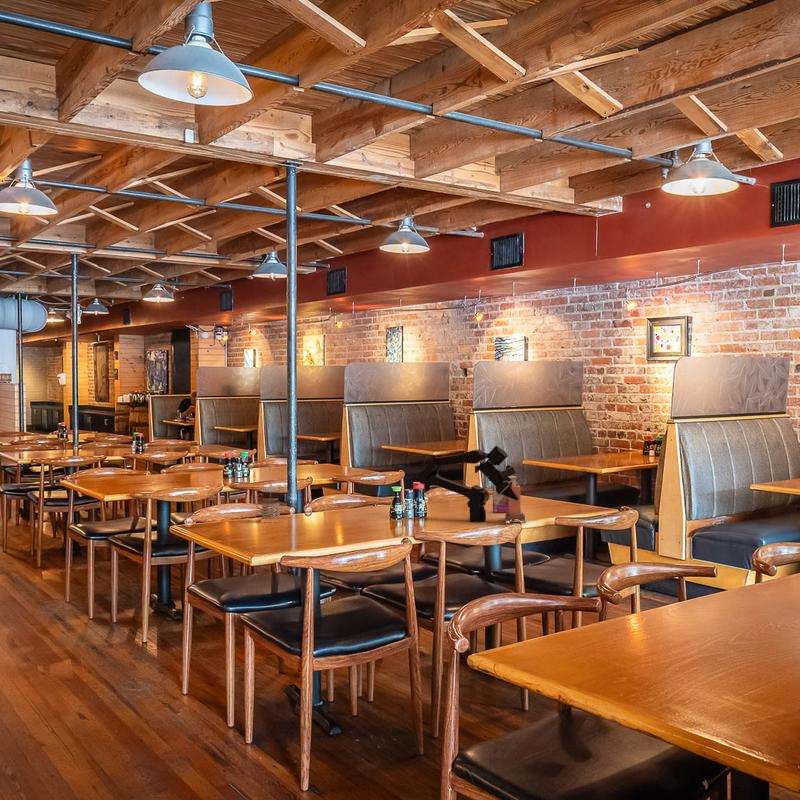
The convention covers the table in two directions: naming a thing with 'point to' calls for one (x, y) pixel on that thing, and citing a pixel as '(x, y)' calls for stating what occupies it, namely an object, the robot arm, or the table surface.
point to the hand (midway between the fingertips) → (518, 498)
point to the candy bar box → (502, 499)
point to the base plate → (515, 517)
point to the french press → (269, 503)
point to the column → (515, 502)
